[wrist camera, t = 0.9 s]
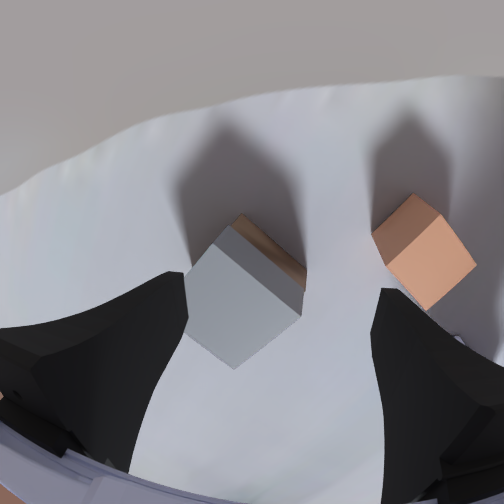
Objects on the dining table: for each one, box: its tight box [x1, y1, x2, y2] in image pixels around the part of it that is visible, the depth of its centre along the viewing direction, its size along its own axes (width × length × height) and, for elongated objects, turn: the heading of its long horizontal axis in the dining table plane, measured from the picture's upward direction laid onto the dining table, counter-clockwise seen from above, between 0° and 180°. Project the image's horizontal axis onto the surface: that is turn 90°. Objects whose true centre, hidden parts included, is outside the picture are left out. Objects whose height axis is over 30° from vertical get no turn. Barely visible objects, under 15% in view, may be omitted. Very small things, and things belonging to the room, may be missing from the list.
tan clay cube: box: [371, 193, 476, 311], centre depth 17 cm, size 4×4×5 cm
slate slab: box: [184, 225, 304, 369], centre depth 18 cm, size 6×6×3 cm
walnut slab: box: [231, 214, 307, 292], centre depth 21 cm, size 6×6×3 cm
